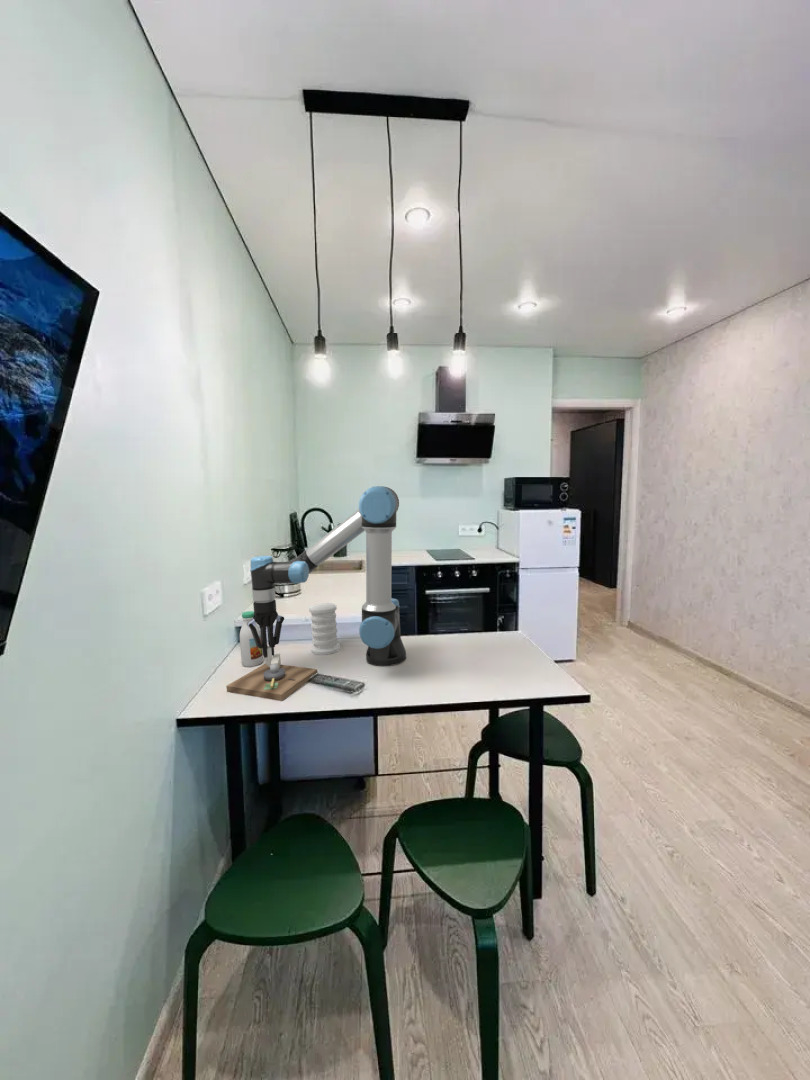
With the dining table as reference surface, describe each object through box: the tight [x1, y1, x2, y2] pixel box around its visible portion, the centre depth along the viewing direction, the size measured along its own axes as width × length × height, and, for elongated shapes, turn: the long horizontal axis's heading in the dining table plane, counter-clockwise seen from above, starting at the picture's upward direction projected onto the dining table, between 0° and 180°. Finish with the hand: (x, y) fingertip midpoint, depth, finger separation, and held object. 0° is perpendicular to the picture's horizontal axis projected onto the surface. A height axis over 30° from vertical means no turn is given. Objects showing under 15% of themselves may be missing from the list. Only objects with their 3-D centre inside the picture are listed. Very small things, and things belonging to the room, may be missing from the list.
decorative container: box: [308, 602, 341, 656], centre depth 177 cm, size 12×12×18 cm
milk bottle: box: [239, 610, 264, 668], centre depth 165 cm, size 8×8×20 cm
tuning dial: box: [263, 653, 285, 688], centre depth 148 cm, size 20×7×4 cm, turn 11°
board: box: [226, 662, 319, 701], centre depth 148 cm, size 22×20×2 cm
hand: (269, 665), depth 155 cm, fingers closed
